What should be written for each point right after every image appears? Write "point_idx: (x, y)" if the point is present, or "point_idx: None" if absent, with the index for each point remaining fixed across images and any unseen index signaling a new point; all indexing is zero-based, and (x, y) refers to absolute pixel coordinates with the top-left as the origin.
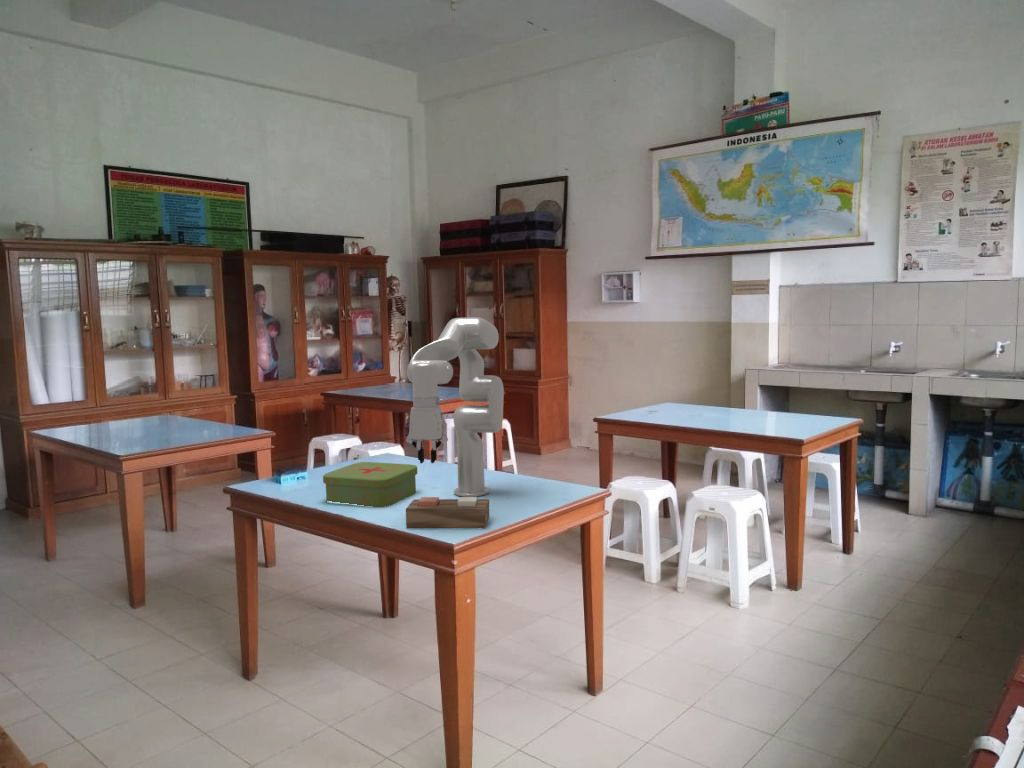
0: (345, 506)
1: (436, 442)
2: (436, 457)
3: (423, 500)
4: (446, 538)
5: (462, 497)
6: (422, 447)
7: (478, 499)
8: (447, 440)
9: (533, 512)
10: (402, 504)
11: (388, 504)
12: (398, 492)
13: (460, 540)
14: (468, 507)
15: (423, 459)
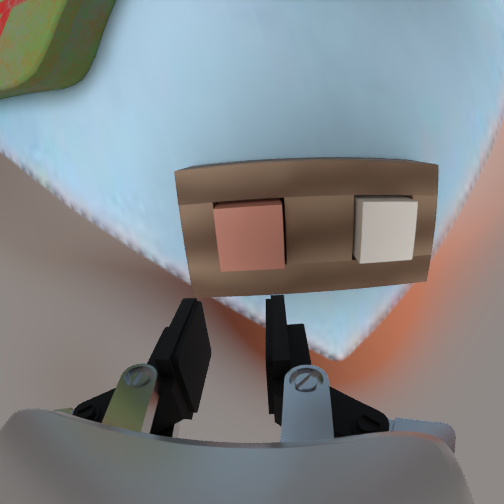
0: (18, 106)
1: (325, 430)
2: (304, 333)
3: (235, 258)
4: (322, 333)
5: (372, 209)
6: (172, 396)
7: (410, 167)
8: (442, 433)
9: (485, 122)
10: (121, 41)
11: (88, 64)
12: (94, 12)
13: (351, 341)
14: (387, 270)
15: (201, 330)
